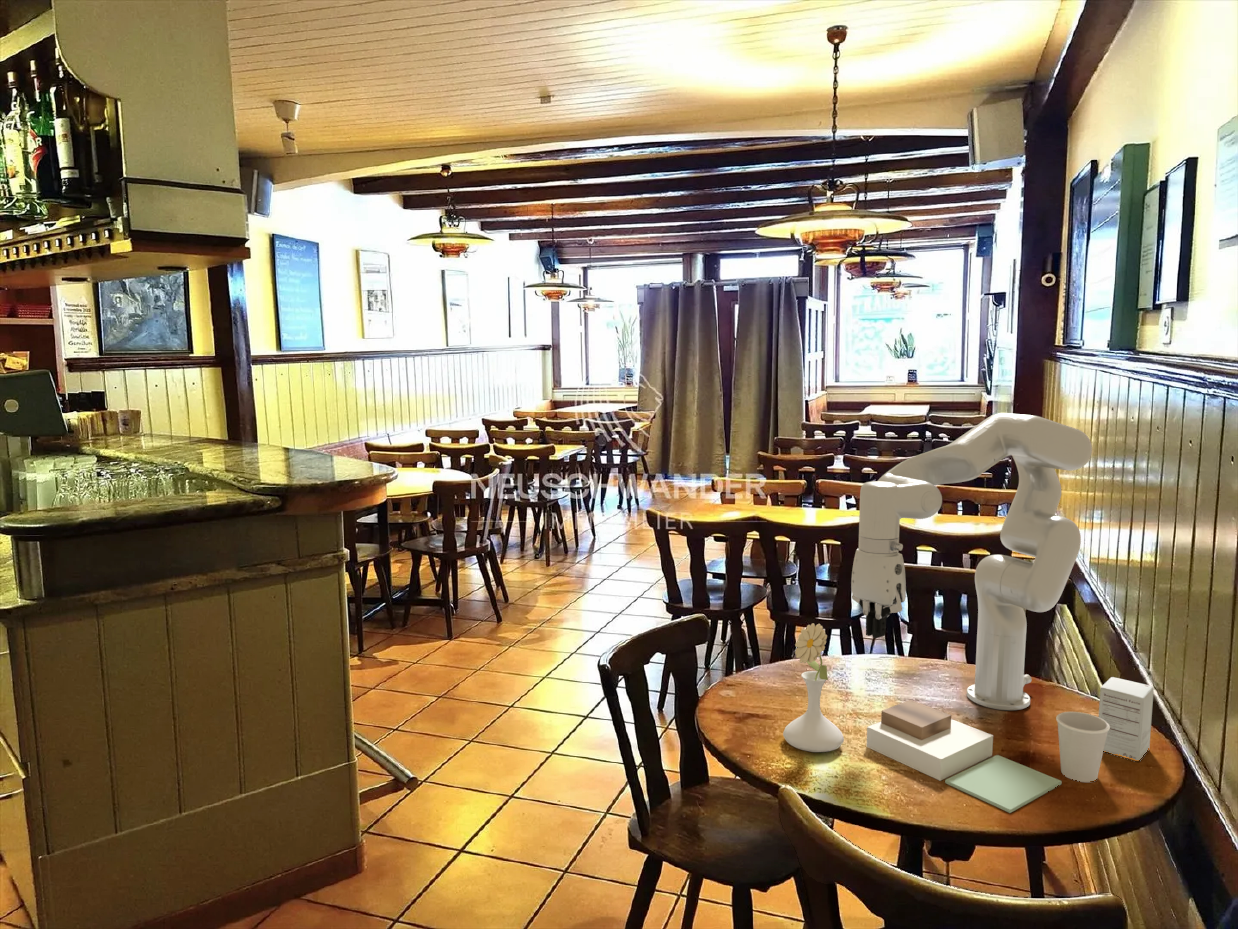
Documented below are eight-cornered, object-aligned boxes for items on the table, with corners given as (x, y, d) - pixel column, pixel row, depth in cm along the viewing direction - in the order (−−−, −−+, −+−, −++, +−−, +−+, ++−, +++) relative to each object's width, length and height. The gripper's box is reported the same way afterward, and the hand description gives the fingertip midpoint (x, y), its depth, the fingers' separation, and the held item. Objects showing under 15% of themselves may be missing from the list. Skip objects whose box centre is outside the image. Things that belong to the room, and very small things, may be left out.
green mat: (997, 757, 157) (997, 754, 157) (1061, 784, 148) (1061, 781, 148) (945, 783, 148) (945, 780, 148) (1010, 813, 139) (1010, 809, 139)
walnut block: (910, 711, 168) (910, 699, 168) (950, 727, 161) (951, 715, 161) (881, 723, 163) (881, 710, 163) (921, 740, 156) (922, 727, 156)
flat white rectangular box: (918, 725, 171) (919, 706, 171) (992, 755, 158) (993, 735, 158) (866, 746, 162) (867, 727, 162) (940, 780, 149) (941, 759, 149)
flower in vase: (779, 730, 169) (781, 609, 166) (837, 732, 169) (840, 610, 165) (788, 762, 156) (791, 631, 153) (851, 763, 156) (855, 632, 153)
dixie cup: (1087, 791, 145) (1091, 735, 144) (1042, 770, 153) (1045, 717, 151) (1116, 779, 149) (1120, 725, 148) (1071, 759, 157) (1075, 707, 155)
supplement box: (1106, 737, 165) (1111, 675, 164) (1150, 750, 160) (1155, 686, 158) (1094, 750, 160) (1099, 686, 159) (1139, 763, 155) (1144, 697, 153)
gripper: (924, 549, 162) (920, 642, 164) (859, 535, 174) (857, 622, 177) (899, 555, 158) (895, 650, 160) (835, 540, 170) (832, 629, 172)
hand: (875, 635), depth 168 cm, fingers closed
